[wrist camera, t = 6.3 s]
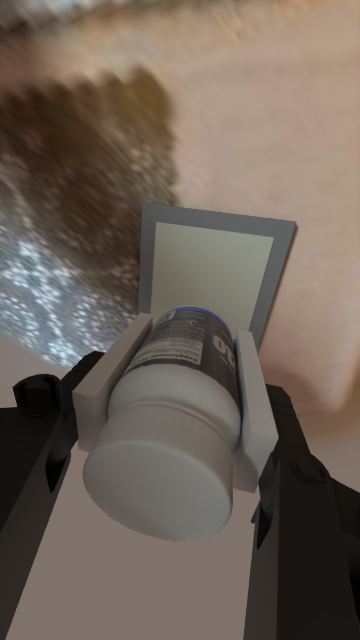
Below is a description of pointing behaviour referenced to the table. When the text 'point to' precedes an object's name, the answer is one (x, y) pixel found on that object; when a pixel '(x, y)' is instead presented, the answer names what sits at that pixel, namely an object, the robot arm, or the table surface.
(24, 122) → the table surface
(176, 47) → the table surface
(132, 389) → the pill bottle
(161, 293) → the coaster
